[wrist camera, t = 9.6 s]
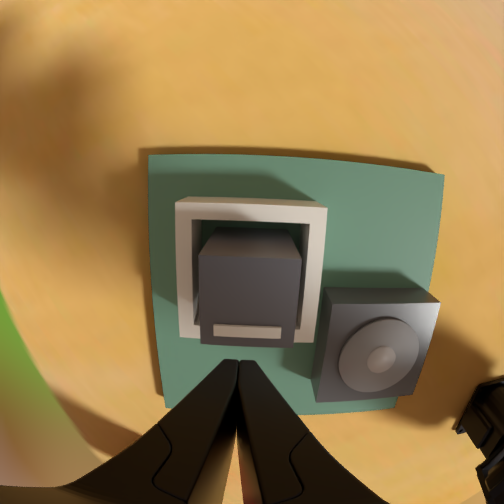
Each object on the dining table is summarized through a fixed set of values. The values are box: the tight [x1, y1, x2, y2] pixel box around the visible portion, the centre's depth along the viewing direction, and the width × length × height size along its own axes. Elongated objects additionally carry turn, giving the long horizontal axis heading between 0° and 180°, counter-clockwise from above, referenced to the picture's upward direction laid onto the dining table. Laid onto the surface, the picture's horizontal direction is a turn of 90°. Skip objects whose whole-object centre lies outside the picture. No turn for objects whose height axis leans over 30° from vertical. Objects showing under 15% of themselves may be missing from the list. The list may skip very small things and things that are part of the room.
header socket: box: [175, 196, 328, 343], centre depth 17 cm, size 7×7×3 cm
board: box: [148, 154, 444, 415], centre depth 20 cm, size 18×18×1 cm
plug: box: [198, 227, 302, 348], centre depth 16 cm, size 4×4×6 cm
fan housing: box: [311, 287, 441, 403], centre depth 19 cm, size 7×7×3 cm
